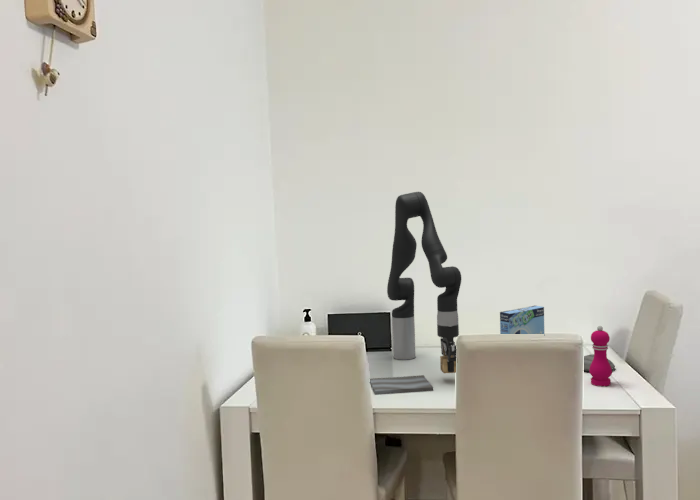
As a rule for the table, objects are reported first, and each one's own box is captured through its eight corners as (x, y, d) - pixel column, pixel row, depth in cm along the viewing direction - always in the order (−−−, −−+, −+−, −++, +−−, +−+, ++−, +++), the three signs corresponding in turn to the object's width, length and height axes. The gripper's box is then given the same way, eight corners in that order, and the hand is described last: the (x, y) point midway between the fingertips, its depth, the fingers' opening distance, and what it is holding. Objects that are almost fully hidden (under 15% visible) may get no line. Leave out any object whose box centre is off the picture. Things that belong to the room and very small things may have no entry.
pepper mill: (611, 381, 226) (610, 324, 224) (612, 387, 219) (611, 328, 218) (589, 380, 228) (588, 323, 227) (589, 386, 221) (588, 327, 220)
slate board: (369, 381, 238) (369, 378, 237) (423, 378, 239) (423, 375, 239) (375, 394, 222) (374, 391, 222) (433, 390, 223) (433, 387, 223)
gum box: (535, 363, 254) (534, 305, 253) (546, 366, 250) (545, 306, 248) (500, 372, 244) (498, 311, 242) (510, 375, 239) (509, 313, 238)
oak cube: (440, 369, 236) (440, 356, 236) (454, 368, 237) (453, 355, 237) (443, 373, 231) (443, 359, 231) (457, 372, 232) (457, 358, 232)
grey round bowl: (574, 373, 239) (573, 359, 238) (570, 363, 253) (570, 349, 253) (618, 374, 235) (618, 359, 235) (611, 364, 250) (611, 350, 249)
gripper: (432, 319, 240) (434, 365, 241) (442, 327, 225) (443, 376, 227) (452, 318, 240) (454, 364, 242) (463, 326, 226) (464, 374, 227)
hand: (449, 369), depth 234 cm, fingers closed on oak cube, 5 cm apart
